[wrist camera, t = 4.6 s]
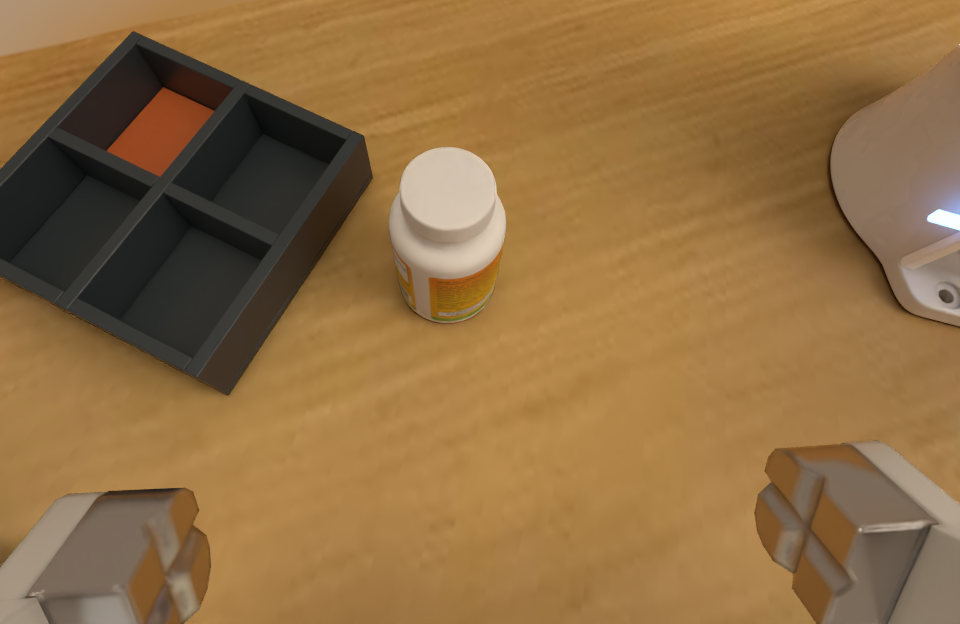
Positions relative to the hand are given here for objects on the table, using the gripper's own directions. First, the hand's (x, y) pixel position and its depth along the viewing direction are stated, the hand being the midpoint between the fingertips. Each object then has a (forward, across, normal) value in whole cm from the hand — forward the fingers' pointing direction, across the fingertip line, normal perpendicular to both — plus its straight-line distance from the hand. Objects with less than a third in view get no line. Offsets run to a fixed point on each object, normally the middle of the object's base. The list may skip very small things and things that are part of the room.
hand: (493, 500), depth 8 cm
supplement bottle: (+24, 0, +6) cm, 25 cm away
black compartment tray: (+27, +14, +3) cm, 30 cm away
